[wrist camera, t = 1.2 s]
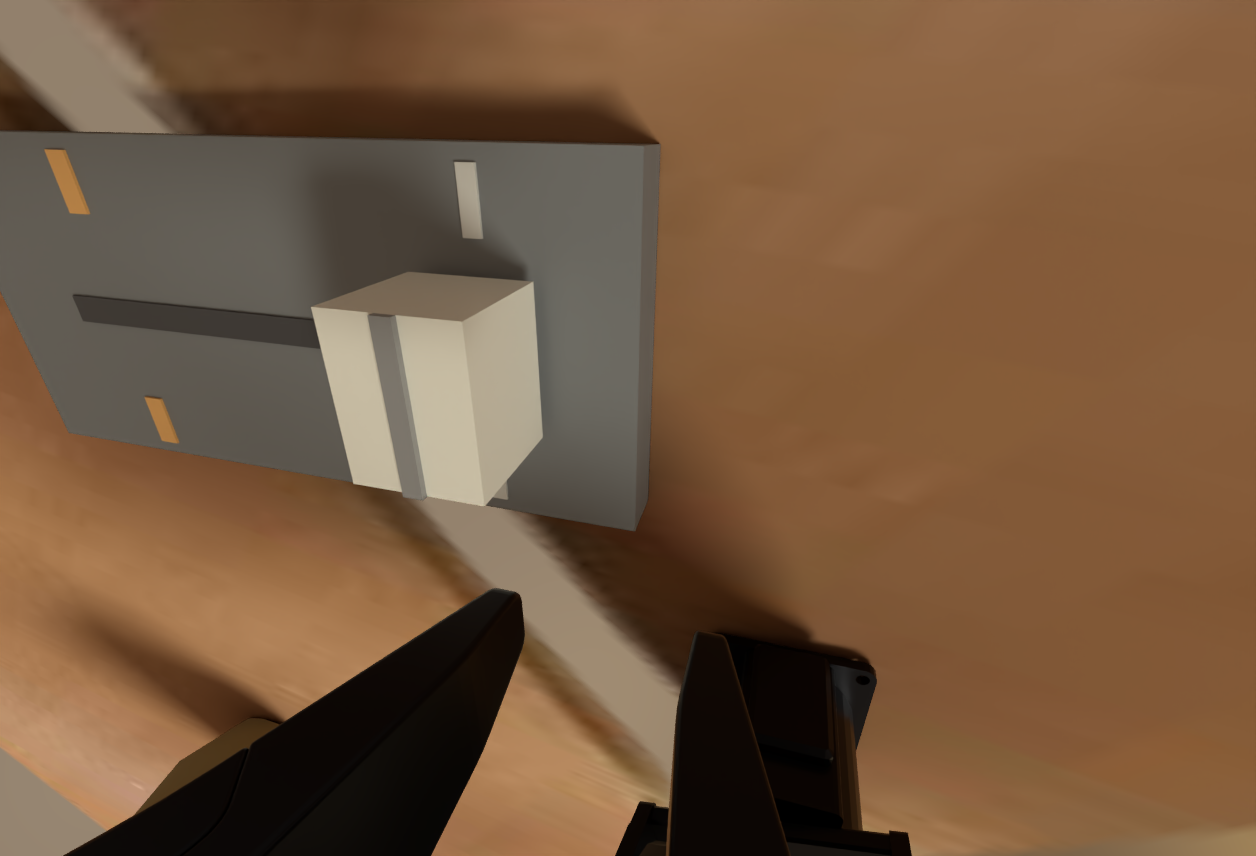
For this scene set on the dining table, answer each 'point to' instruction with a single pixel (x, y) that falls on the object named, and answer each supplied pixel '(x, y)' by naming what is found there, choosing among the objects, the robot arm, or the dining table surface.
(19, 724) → the dining table surface
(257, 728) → the squeeze bottle
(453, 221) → the plate
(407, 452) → the cap
